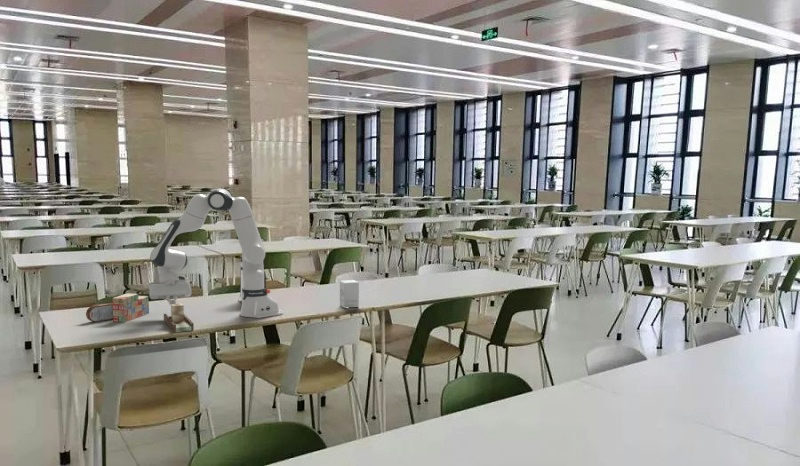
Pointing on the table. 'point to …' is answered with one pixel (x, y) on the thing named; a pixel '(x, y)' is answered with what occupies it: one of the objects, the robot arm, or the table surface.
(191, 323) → the walled track
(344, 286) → the supplement box
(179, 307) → the birch block
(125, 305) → the stack of blocks
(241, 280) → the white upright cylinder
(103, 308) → the tin
